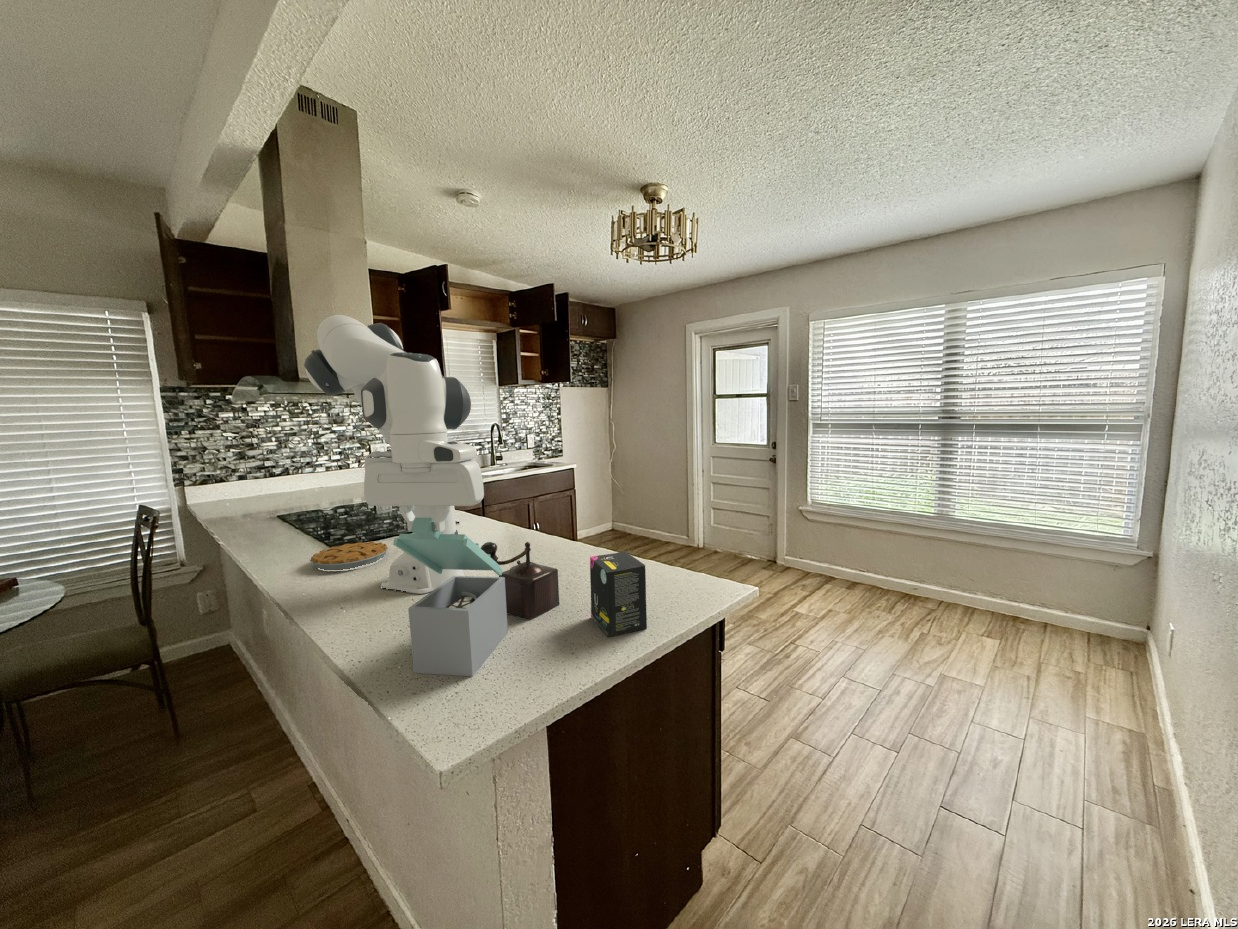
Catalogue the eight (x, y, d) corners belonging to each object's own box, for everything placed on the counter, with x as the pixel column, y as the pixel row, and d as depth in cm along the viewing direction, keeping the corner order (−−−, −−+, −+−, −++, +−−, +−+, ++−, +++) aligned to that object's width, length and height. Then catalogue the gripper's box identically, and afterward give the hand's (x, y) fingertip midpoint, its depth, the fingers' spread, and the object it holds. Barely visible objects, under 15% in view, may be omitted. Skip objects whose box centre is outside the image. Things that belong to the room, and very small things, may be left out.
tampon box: (590, 617, 106) (588, 556, 104) (626, 610, 110) (625, 550, 108) (608, 638, 96) (606, 571, 94) (647, 629, 100) (646, 564, 98)
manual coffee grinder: (528, 595, 120) (525, 528, 118) (560, 604, 113) (557, 533, 111) (480, 618, 107) (475, 543, 105) (513, 630, 101) (508, 550, 99)
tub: (413, 672, 85) (408, 608, 84) (457, 630, 101) (453, 575, 100) (472, 676, 83) (468, 610, 82) (507, 632, 100) (504, 577, 98)
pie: (403, 554, 159) (401, 540, 159) (353, 576, 138) (351, 560, 137) (350, 551, 164) (348, 537, 164) (294, 572, 143) (292, 557, 143)
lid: (379, 536, 77) (386, 517, 79) (438, 573, 95) (442, 558, 97) (455, 537, 75) (460, 517, 77) (501, 575, 93) (504, 559, 95)
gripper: (350, 453, 75) (358, 535, 77) (468, 451, 73) (473, 536, 74) (376, 449, 82) (382, 525, 83) (485, 447, 79) (490, 526, 80)
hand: (426, 530), depth 79 cm, fingers closed on lid, 3 cm apart
